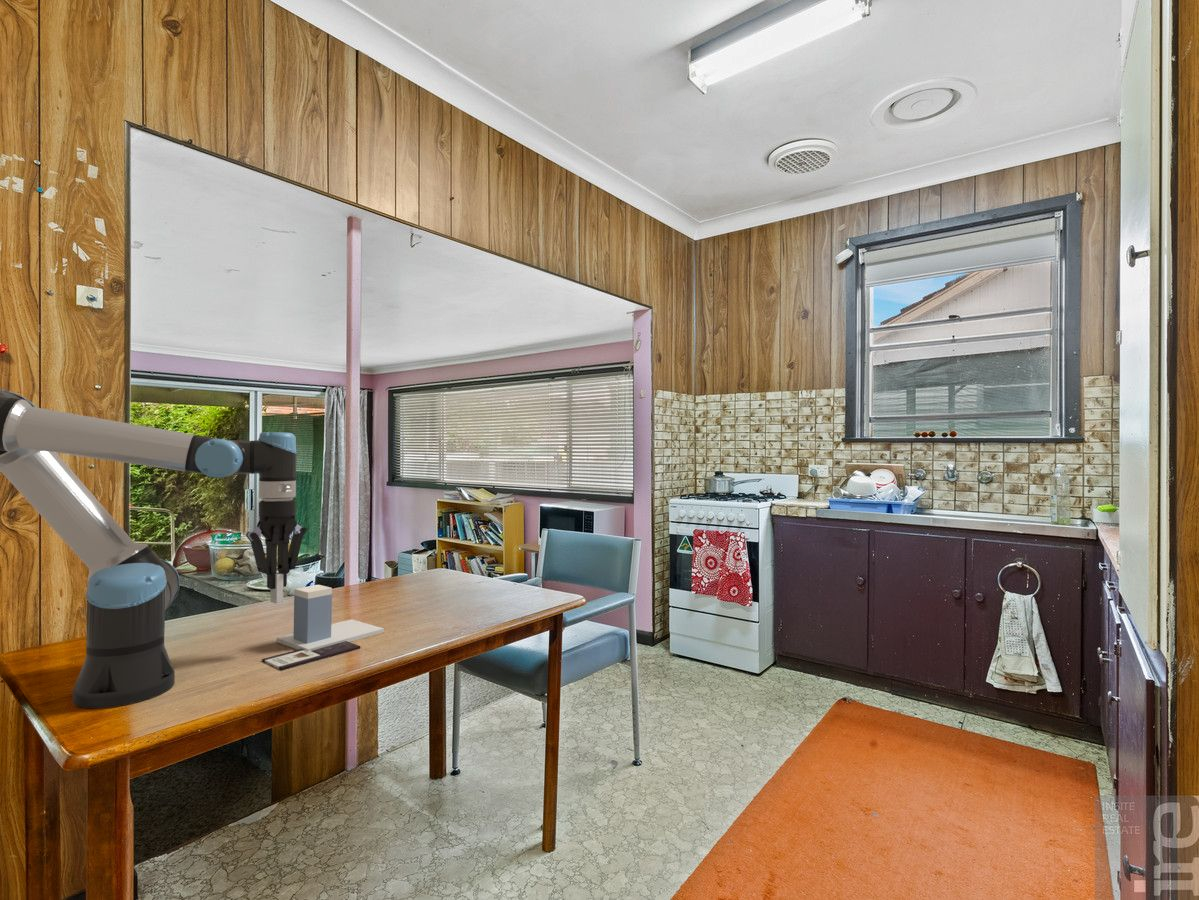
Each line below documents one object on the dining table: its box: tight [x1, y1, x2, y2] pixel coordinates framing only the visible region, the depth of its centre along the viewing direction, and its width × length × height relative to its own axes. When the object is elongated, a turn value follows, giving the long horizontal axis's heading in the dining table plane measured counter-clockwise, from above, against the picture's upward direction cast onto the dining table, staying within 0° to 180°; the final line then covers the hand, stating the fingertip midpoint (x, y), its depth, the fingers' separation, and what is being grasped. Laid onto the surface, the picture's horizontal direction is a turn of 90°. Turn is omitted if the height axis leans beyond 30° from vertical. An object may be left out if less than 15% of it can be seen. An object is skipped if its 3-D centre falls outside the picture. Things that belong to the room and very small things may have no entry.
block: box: [293, 584, 333, 644], centre depth 143 cm, size 6×6×12 cm
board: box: [275, 618, 385, 652], centre depth 148 cm, size 20×14×1 cm
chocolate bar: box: [261, 641, 361, 672], centre depth 135 cm, size 9×1×18 cm
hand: (276, 602), depth 136 cm, fingers closed
